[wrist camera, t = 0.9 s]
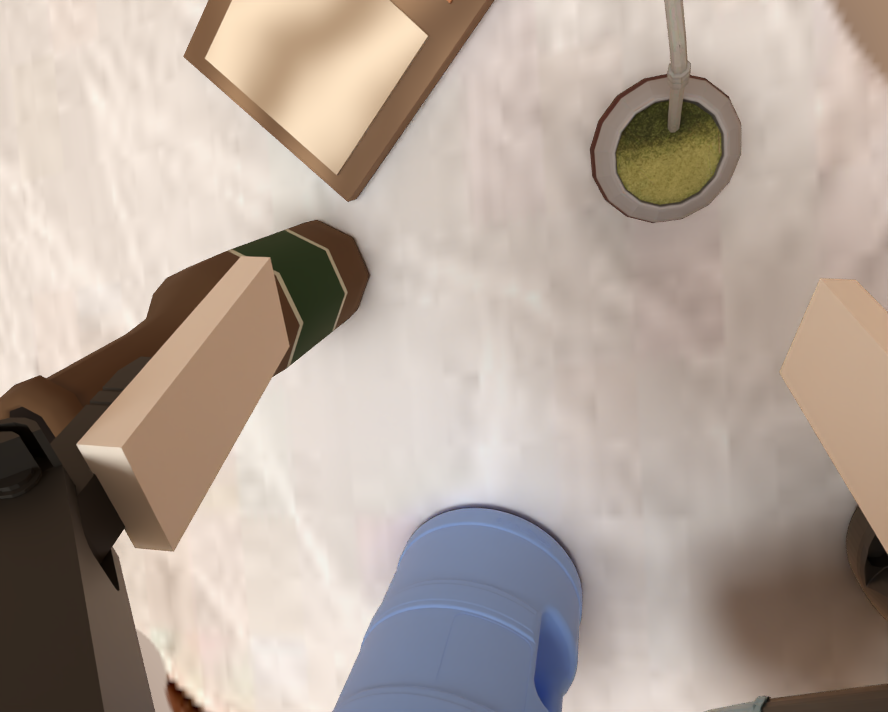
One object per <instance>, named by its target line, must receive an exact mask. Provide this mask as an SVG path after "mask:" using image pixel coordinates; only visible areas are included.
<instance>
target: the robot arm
mask: <svg viewBox="0 0 888 712" xmlns="http://www.w3.org/2000/svg"><path fill="white" fill-rule="evenodd" d="M288 348H289V341H288V336H287V332H286V327H285V323H284V318H283V314H282V309H281V304H280V300H279V295H278V291H277V286H276V281H275V277H274V272H273V268H272V263H271V259H270V257H249V256H241V257H240V258H239V259H238V260H237V261H236V263H235V264H234V265H233V266H232V267H231V268H230V269H229V271H228V272H227V273H226V274H225V275H224V276H223V277H222V279H221V280H220V281H219V282H218V283H217V284H216V285H215V287H214V288H213V289H212V290H211V291H210V292H209V293H208V295H207V296H206V297H205V298H204V299H203V300H202V301H201V303H200V304H199V305H198V306H197V307H196V308H195V309H194V310H193V312H192V313H191V314H190V315H189V316H188V317H187V318H186V320H185V321H184V322H183V323H182V324H181V325H180V326H179V328H178V329H177V330H176V331H175V332H174V333H173V334H172V336H171V337H170V338H169V339H168V340H167V341H166V342H165V344H164V345H163V346H162V347H161V348H160V349H159V350H158V352H157V353H156V354H155V355H154V356H153V357H139V358H137V359H136V360H134V361H133V362H131V363H129V364H128V365H126V366H125V367H123V368H121V369H120V370H118V371H117V372H116V373H115V374H114V375H113V377H112V378H111V379H110V380H109V381H108V382H107V383H106V384H105V385H104V386H103V387H102V388H103V390H102V391H99V392H98V393H97V394H96V395H95V396H94V397H93V398H92V399H91V400H90V404H89V405H86V406H85V407H84V408H83V409H82V410H81V411H80V412H79V413H78V414H77V415H76V416H75V417H74V419H73V420H72V421H71V422H70V423H69V424H68V425H67V426H66V427H65V428H64V429H63V430H62V431H61V433H60V434H59V435H58V436H57V437H56V438H55V439H54V440H53V441H52V442H51V443H49V442H48V440H47V438H46V437H45V435H44V433H43V432H42V430H41V428H40V427H39V425H38V424H37V422H36V421H34V420H31V419H28V418H25V417H24V418H6V419H2V420H0V712H155V709H154V705H153V701H152V697H151V692H150V688H149V684H148V680H147V676H146V671H145V667H144V663H143V658H142V654H141V650H140V646H139V642H138V637H137V633H136V629H135V625H134V620H133V616H132V612H131V608H130V603H129V599H128V595H127V591H126V586H125V582H124V578H123V574H122V569H121V565H120V561H119V557H118V555H117V553H116V552H115V550H114V548H113V547H112V546H113V545H114V543H115V542H116V540H117V539H118V537H119V536H120V534H121V533H122V531H123V530H124V529H125V531H126V533H127V535H128V536H129V538H130V540H131V542H132V543H133V545H134V547H135V548H141V549H152V550H163V551H174V550H175V548H176V546H177V545H178V543H179V541H180V539H181V538H182V536H183V534H184V532H185V530H186V529H187V527H188V525H189V523H190V522H191V520H192V518H193V516H194V515H195V513H196V511H197V509H198V507H199V506H200V504H201V502H202V500H203V499H204V497H205V495H206V493H207V492H208V490H209V488H210V486H211V484H212V483H213V481H214V479H215V477H216V476H217V474H218V472H219V470H220V469H221V467H222V465H223V463H224V461H225V460H226V458H227V456H228V454H229V453H230V451H231V449H232V447H233V446H234V444H235V442H236V440H237V438H238V437H239V435H240V433H241V431H242V430H243V428H244V426H245V424H246V422H247V421H248V419H249V417H250V415H251V414H252V412H253V410H254V408H255V407H256V405H257V403H258V401H259V399H260V398H261V396H262V394H263V392H264V391H265V389H266V387H267V385H268V384H269V382H270V380H271V378H272V376H273V375H274V373H275V371H276V369H277V368H278V366H279V364H280V362H281V361H282V359H283V357H284V355H285V353H286V352H287V350H288ZM779 373H780V375H781V376H782V378H783V380H784V381H785V383H786V385H787V386H788V388H789V390H790V391H791V393H792V395H793V396H794V398H795V400H796V401H797V403H798V405H799V406H800V408H801V410H802V412H803V413H804V415H805V417H806V418H807V420H808V422H809V423H810V425H811V427H812V428H813V430H814V432H815V433H816V435H817V437H818V438H819V440H820V442H821V443H822V445H823V447H824V448H825V450H826V452H827V453H828V455H829V457H830V458H831V460H832V462H833V463H834V465H835V467H836V468H837V470H838V472H839V474H840V475H841V477H842V479H843V480H844V482H845V484H846V485H847V487H848V489H849V490H850V492H851V494H852V495H853V497H854V499H855V500H856V502H857V504H858V505H859V506H858V508H857V509H856V511H855V513H854V515H853V517H852V519H851V522H850V525H849V528H848V533H847V540H846V549H847V556H848V560H849V564H850V566H851V569H852V571H853V573H854V575H855V577H856V578H857V580H858V582H859V584H860V586H861V588H862V589H863V591H864V593H865V595H866V596H867V598H868V599H869V601H870V602H871V603H872V605H873V606H874V607H875V608H876V610H877V611H878V612H879V613H880V614H881V615H882V616H883V617H884V618H885V619H886V620H887V621H888V312H887V311H886V310H885V309H884V308H883V307H882V306H881V305H880V304H879V303H878V302H877V301H876V300H875V299H874V298H873V297H872V296H871V295H870V294H869V293H868V292H867V291H866V290H865V289H864V288H863V287H862V286H861V285H860V284H859V283H858V282H857V281H856V280H850V279H824V278H820V280H819V282H818V284H817V287H816V289H815V291H814V294H813V296H812V298H811V301H810V303H809V305H808V307H807V310H806V312H805V314H804V317H803V319H802V321H801V324H800V326H799V328H798V330H797V333H796V335H795V337H794V340H793V342H792V344H791V346H790V349H789V351H788V353H787V356H786V358H785V360H784V363H783V365H782V367H781V369H780V372H779ZM705 712H888V684H880V685H872V686H865V687H857V688H849V689H841V690H834V691H826V692H818V693H810V694H803V695H795V696H787V697H779V698H772V699H771V697H767V696H761V697H760V696H759V697H758V698H757V699H756V700H755V701H754V702H748V703H743V704H738V705H732V706H727V707H722V708H717V709H711V710H708V711H705Z"/></svg>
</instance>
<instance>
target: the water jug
mask: <svg viewBox="0 0 888 712" xmlns="http://www.w3.org/2000/svg"><path fill="white" fill-rule="evenodd" d="M581 616H582V588H581V583H580V579H579V576H578V573H577V570H576V568H575V566H574V564H573V562H572V561H571V559H570V557H569V556H568V555H567V553H566V552H565V551H564V549H563V548H562V547H561V546H560V545H559V544H558V543H557V542H556V541H555V540H554V539H553V538H552V537H551V536H550V535H549V534H547V533H546V532H545V531H543V530H542V529H540V528H539V527H537V526H536V525H534V524H532V523H531V522H529V521H527V520H525V519H523V518H520V517H518V516H515V515H512V514H509V513H506V512H502V511H498V510H493V509H485V508H464V509H457V510H452V511H448V512H445V513H442V514H440V515H438V516H435V517H433V518H432V519H430V520H428V521H427V522H425V523H424V524H423V525H422V526H420V527H419V528H418V529H417V530H416V531H415V532H414V534H413V535H412V536H411V538H410V539H409V541H408V542H407V544H406V546H405V549H404V551H403V553H402V555H401V557H400V560H399V563H398V567H397V571H396V573H395V575H394V577H393V579H392V582H391V584H390V586H389V588H388V590H387V593H386V595H385V597H384V599H383V602H382V604H381V605H380V607H379V608H378V610H377V612H376V613H375V615H374V617H373V619H372V621H371V623H370V625H369V627H368V630H367V632H366V634H365V636H364V639H363V642H362V645H361V649H360V652H359V655H358V657H357V659H356V661H355V663H354V666H353V668H352V670H351V672H350V675H349V677H348V679H347V681H346V683H345V686H344V688H343V690H342V692H341V694H340V697H339V699H338V701H337V703H336V706H335V708H334V710H333V711H332V712H562V699H563V696H564V695H565V694H566V692H567V691H568V689H569V688H570V686H571V684H572V682H573V680H574V677H575V674H576V670H577V663H578V642H579V626H580V622H581Z"/></svg>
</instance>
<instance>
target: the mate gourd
mask: <svg viewBox="0 0 888 712" xmlns="http://www.w3.org/2000/svg"><path fill="white" fill-rule="evenodd" d="M664 2H665V11H666V20H667V28H668V37H669V47H670V59H671V63H670V64H669V67H668V72H667V74H665V75H660V76H655V77H650V78H645V79H643V80H641V81H640V82H638V83H636V84H635V85H633V86H632V87H630V88H628V89H627V90H625V91H624V92H622V93H620V94H619V95H617V97H616V98H615V99H614V101H613V102H612V103H611V105H610V106H609V107H608V109H607V110H606V111H605V113H604V114H603V115H602V117H601V118H600V119H599V121H598V124H597V127H596V131H595V134H594V138H593V141H592V144H591V148H590V154H591V165H592V176H593V178H594V180H595V182H596V184H597V186H598V188H599V189H600V191H601V193H602V195H603V197H604V199H605V200H606V201H607V202H609V203H610V204H611V205H613V206H614V207H615V208H616V209H618V210H619V211H620V212H622V213H623V214H624V215H625V216H627V217H631V218H635V219H639V220H643V221H647V222H651V223H656V222H664V221H671V220H678V219H683V218H685V217H687V216H689V215H691V214H692V213H694V212H696V211H698V210H700V209H702V208H704V207H706V206H708V205H709V204H710V203H711V202H712V201H713V200H714V198H715V197H716V196H717V195H718V194H719V193H720V192H721V191H722V190H723V189H724V188H725V187H726V185H727V184H728V183H729V182H730V180H731V177H732V175H733V172H734V170H735V167H736V165H737V163H738V160H739V158H740V155H741V122H740V120H739V118H738V116H737V114H736V112H735V109H734V107H733V105H732V103H731V101H730V99H729V96H727V95H726V94H725V93H723V92H722V91H721V90H720V89H718V88H717V87H716V86H715V85H713V84H712V83H711V82H709V81H708V80H707V79H706V78H701V77H696V76H691V75H690V69H691V63H690V62H689V61H688V60H687V45H686V31H685V20H684V9H683V0H664Z"/></svg>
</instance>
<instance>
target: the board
mask: <svg viewBox="0 0 888 712" xmlns="http://www.w3.org/2000/svg"><path fill="white" fill-rule="evenodd" d="M493 1H494V0H208V3H207V5H206V7H205V9H204V12H203V14H202V16H201V18H200V21H199V23H198V25H197V27H196V29H195V32H194V34H193V36H192V38H191V41H190V43H189V45H188V47H187V50H186V52H185V54H184V56H183V57H184V58H185V59H187V60H188V61H189V62H190V63H191V64H192V65H193V66H195V67H196V68H197V69H198V70H199V71H200V72H201V73H202V74H204V75H205V76H206V77H207V78H208V79H209V80H210V81H212V82H213V83H214V84H215V85H216V86H217V87H218V88H219V89H221V90H222V91H223V92H224V93H225V94H226V95H227V96H229V97H230V98H231V99H232V100H233V101H234V102H235V103H236V104H238V105H239V106H240V107H241V108H242V109H243V110H244V111H246V112H247V113H248V114H249V115H250V116H251V117H252V118H253V119H255V120H256V121H257V122H258V123H259V124H260V125H261V126H262V127H264V128H265V129H266V130H267V131H268V132H269V133H270V134H272V135H273V136H274V137H275V138H276V139H277V140H278V141H279V142H281V143H282V144H283V145H284V146H285V147H286V148H287V149H289V150H290V151H291V152H292V153H293V154H294V155H295V156H296V157H298V158H299V159H300V160H301V161H302V162H303V163H304V164H306V165H307V166H308V167H309V168H310V169H311V170H312V171H313V172H315V173H316V174H317V175H318V176H319V177H320V178H321V179H322V180H324V181H325V182H326V183H327V184H328V185H329V186H330V187H332V188H333V189H334V190H335V191H336V192H337V193H338V194H339V195H341V196H342V197H343V198H344V199H345V200H346V201H347V202H349V201H352V200H355V199H357V198H358V196H359V195H360V193H361V192H362V190H363V189H364V187H365V186H366V185H367V183H368V182H369V180H370V179H371V177H372V176H373V174H374V173H375V172H376V170H377V169H378V167H379V166H380V164H381V163H382V161H383V160H384V159H385V157H386V156H387V154H388V153H389V151H390V150H391V148H392V147H393V146H394V144H395V143H396V141H397V140H398V138H399V137H400V135H401V134H402V133H403V131H404V130H405V128H406V127H407V125H408V124H409V123H410V121H411V120H412V118H413V117H414V115H415V114H416V112H417V111H418V110H419V108H420V107H421V105H422V104H423V102H424V101H425V99H426V98H427V97H428V95H429V94H430V92H431V91H432V89H433V88H434V86H435V85H436V84H437V82H438V81H439V79H440V78H441V76H442V75H443V73H444V72H445V71H446V69H447V68H448V66H449V65H450V63H451V62H452V60H453V59H454V58H455V56H456V55H457V53H458V52H459V50H460V49H461V47H462V46H463V45H464V43H465V42H466V40H467V39H468V37H469V36H470V34H471V33H472V32H473V30H474V29H475V27H476V26H477V24H478V23H479V22H480V20H481V19H482V17H483V16H484V14H485V13H486V11H487V10H488V9H489V7H490V6H491V4H492V3H493Z"/></svg>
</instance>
